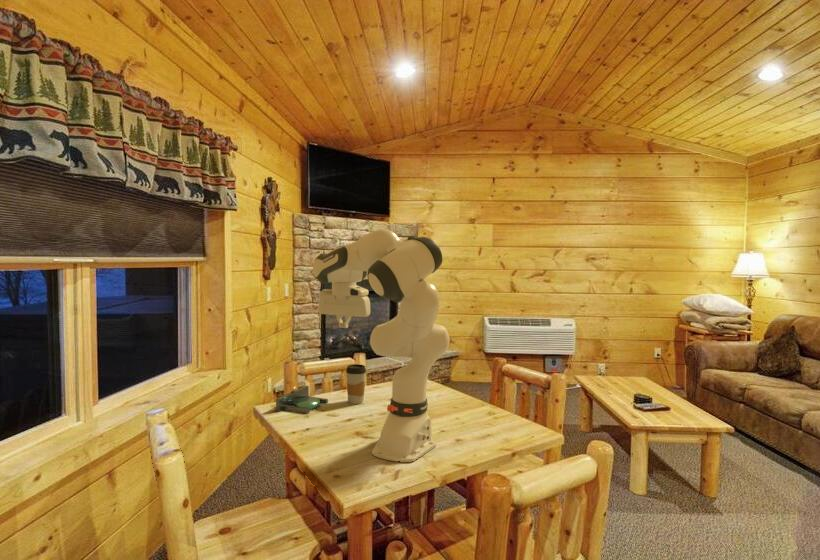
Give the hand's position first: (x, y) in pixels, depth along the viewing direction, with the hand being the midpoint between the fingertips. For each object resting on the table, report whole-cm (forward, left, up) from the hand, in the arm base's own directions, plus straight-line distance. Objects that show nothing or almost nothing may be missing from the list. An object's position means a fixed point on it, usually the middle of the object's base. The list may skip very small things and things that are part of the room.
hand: (343, 327), depth 167 cm
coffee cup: (+20, +5, -34) cm, 40 cm away
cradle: (+7, +21, -34) cm, 41 cm away
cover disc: (+7, +20, -34) cm, 40 cm away
